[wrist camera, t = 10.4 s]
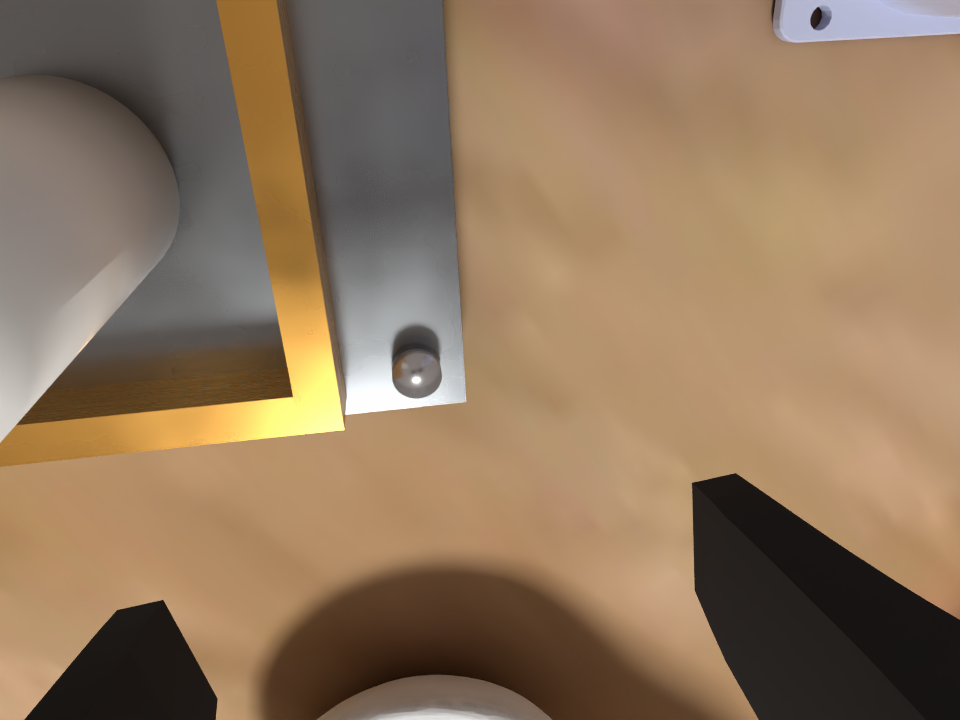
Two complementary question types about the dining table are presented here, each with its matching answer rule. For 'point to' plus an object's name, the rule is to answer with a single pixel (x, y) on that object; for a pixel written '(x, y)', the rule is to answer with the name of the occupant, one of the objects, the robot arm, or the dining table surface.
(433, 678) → the spoon rest
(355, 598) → the dining table surface
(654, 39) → the dining table surface
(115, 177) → the lidded can
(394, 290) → the grey fixture plate
